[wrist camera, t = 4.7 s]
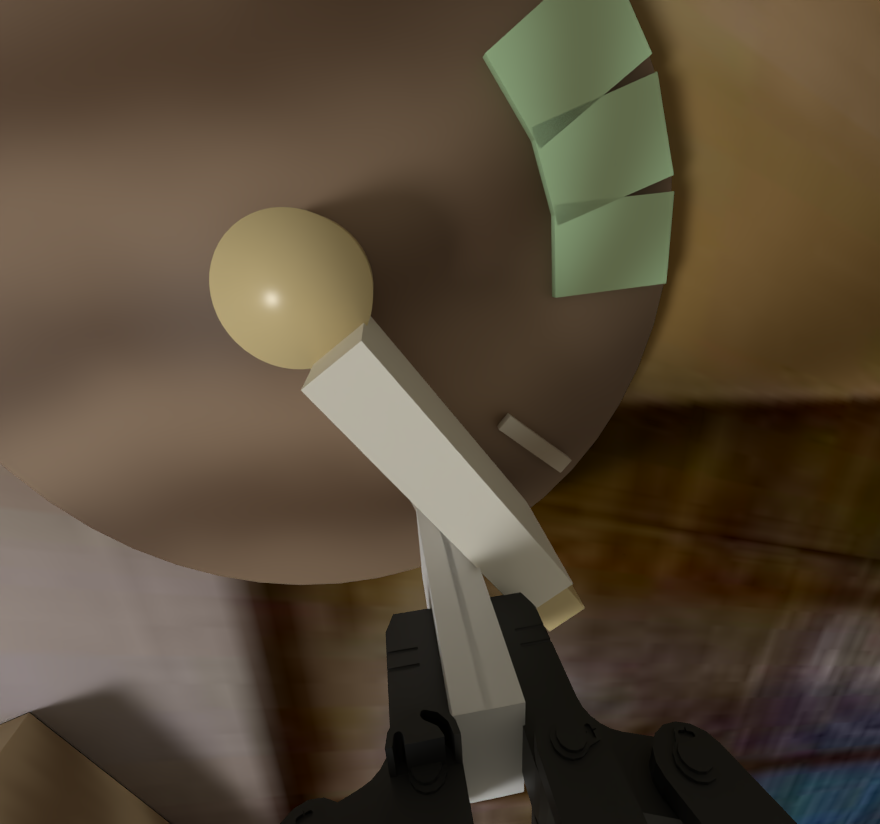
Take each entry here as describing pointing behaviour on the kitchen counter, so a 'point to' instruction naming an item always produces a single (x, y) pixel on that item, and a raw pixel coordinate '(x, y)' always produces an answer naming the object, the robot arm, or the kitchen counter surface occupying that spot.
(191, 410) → the dial
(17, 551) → the kitchen counter surface
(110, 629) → the kitchen counter surface
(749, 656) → the kitchen counter surface
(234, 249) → the white bar with ball
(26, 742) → the block
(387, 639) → the robot arm
